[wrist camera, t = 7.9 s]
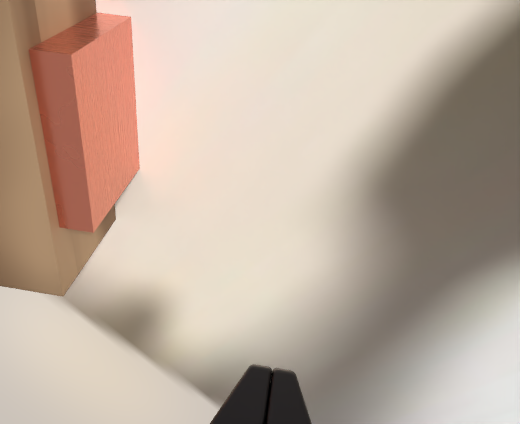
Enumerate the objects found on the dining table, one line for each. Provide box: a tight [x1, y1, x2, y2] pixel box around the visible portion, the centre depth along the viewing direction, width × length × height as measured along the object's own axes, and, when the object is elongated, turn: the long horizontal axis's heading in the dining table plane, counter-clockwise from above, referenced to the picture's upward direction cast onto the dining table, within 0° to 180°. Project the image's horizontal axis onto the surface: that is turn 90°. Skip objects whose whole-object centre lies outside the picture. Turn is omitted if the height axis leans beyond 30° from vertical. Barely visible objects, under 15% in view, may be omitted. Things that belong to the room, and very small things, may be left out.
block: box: [0, 0, 116, 296], centre depth 17 cm, size 5×11×5 cm, turn 175°
